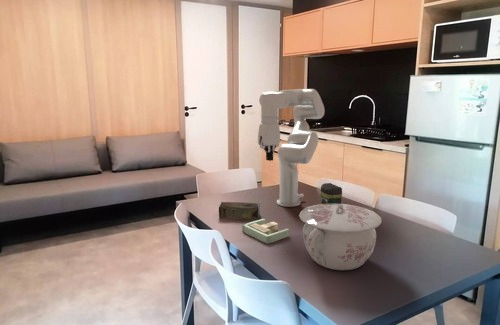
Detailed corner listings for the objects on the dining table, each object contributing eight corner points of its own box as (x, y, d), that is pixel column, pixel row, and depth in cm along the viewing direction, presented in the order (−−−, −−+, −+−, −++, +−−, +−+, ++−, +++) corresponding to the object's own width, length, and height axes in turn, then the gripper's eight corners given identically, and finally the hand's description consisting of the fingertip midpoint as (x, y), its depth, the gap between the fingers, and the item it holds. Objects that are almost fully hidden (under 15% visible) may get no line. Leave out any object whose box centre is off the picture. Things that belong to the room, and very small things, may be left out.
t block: (267, 227, 159) (267, 219, 159) (283, 233, 152) (283, 226, 151) (249, 232, 153) (248, 225, 152) (264, 240, 145) (264, 232, 145)
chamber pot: (357, 242, 143) (360, 191, 138) (394, 277, 116) (399, 215, 112) (288, 247, 139) (288, 195, 135) (310, 284, 112) (311, 221, 108)
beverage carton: (259, 220, 168) (258, 206, 167) (218, 219, 170) (217, 206, 169) (260, 214, 176) (260, 201, 175) (221, 213, 178) (220, 201, 176)
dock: (263, 225, 162) (263, 218, 161) (288, 236, 149) (289, 229, 148) (242, 231, 155) (242, 224, 154) (267, 243, 142) (267, 236, 141)
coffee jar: (344, 227, 158) (345, 186, 154) (328, 230, 155) (329, 188, 151) (332, 220, 167) (333, 181, 163) (316, 222, 164) (317, 182, 160)
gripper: (276, 119, 172) (276, 157, 175) (251, 121, 163) (251, 161, 166) (287, 119, 166) (287, 159, 169) (262, 122, 157) (262, 163, 161)
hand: (269, 160), depth 168 cm, fingers closed
